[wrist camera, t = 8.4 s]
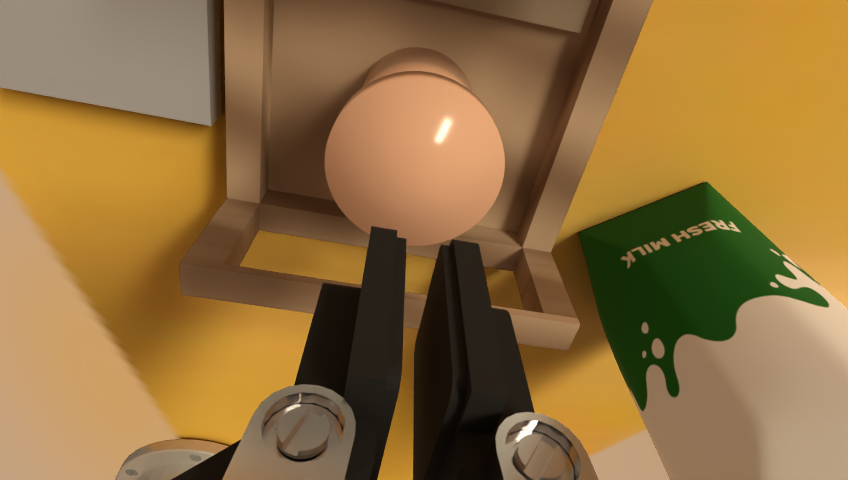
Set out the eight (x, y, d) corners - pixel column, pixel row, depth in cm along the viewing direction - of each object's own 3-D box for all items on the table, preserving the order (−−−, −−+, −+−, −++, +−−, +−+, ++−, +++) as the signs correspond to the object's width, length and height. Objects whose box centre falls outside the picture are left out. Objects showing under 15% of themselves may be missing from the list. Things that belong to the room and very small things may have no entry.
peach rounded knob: (464, 177, 24) (478, 257, 18) (343, 155, 23) (317, 231, 18) (498, 53, 21) (528, 100, 15) (359, 23, 20) (334, 60, 14)
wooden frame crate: (532, 249, 28) (567, 350, 21) (243, 200, 26) (181, 294, 19) (739, -297, 16) (966, -460, 9) (245, -451, 14) (94, -785, 8)
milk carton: (600, 333, 31) (818, 813, 14) (556, 223, 27) (791, 726, 10) (745, 283, 29) (1200, 774, 12) (722, 155, 25) (1384, 644, 8)
